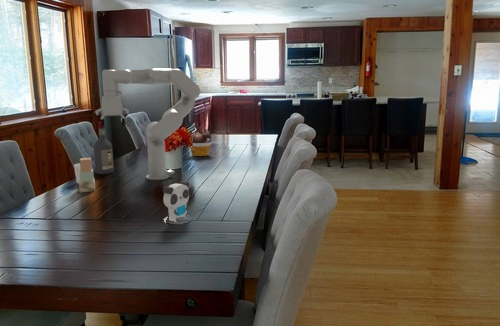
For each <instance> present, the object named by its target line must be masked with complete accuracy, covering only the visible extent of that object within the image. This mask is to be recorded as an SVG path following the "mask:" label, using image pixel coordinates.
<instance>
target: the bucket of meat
mask: <svg viewBox="0 0 500 326" xmlns="http://www.w3.org/2000/svg"><path fill="white" fill-rule="evenodd" d="M203 131H204V132H203ZM192 137H193V146H192V147H190V146H189V149H190V153H191V155H192V157H194V156H205V157H207V156H208V155H209V154H210V148H211V144H212V135H211V134H210V132H209V130H208V129H207V128H205V129H204V130H203V129H202V127H201V126H199V127H198V130H197V129H195V133H194V134H193V133H192ZM206 155H207V156H206Z"/></svg>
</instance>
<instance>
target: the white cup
mask: <svg viewBox="0 0 500 326" xmlns="http://www.w3.org/2000/svg"><path fill="white" fill-rule="evenodd" d="M73 166H74V175H75V179H76V181H75V182H76V184H78V185H79V181H80V170H81V168H80V162H79V163H75V164H74V165H73Z"/></svg>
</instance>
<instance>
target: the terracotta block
mask: <svg viewBox="0 0 500 326" xmlns="http://www.w3.org/2000/svg"><path fill="white" fill-rule="evenodd" d="M79 163H80V168H81V172H89V171H92V169H93V167H92V164H93V163H92V157H82V158H80V159H79Z"/></svg>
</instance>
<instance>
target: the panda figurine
mask: <svg viewBox="0 0 500 326" xmlns="http://www.w3.org/2000/svg"><path fill="white" fill-rule="evenodd" d="M189 186H190V183H189V182H188V181H183V180H181V181H179V183H173V184H170V185H168V186H166V185H165V186H163V187H162V193H163V199H162V200H163V204H164V206H165V207H167V208H168V209H167V210H168V216H169V220H170V221H174V222H177V218H179V217H185V218H187V216H188V212H187V210H188V208H189V204H188V202H189V198H190V192H189V191H190V190H189ZM168 216H166V217H165V218H163V220H164V221H163V223H164V222H165V223H164V224H166V220H167V218H168Z"/></svg>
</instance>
